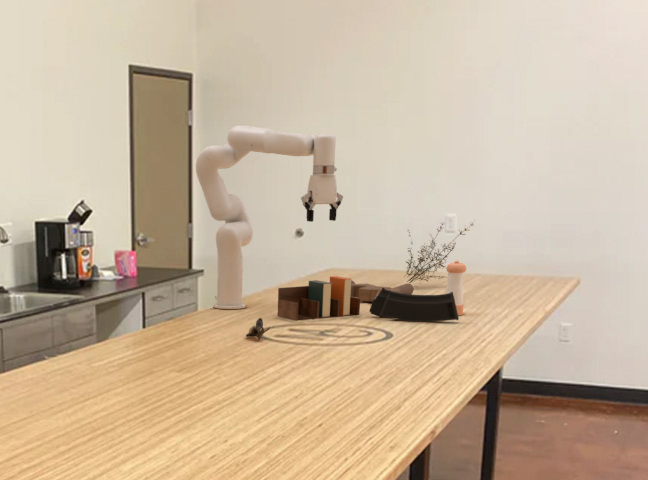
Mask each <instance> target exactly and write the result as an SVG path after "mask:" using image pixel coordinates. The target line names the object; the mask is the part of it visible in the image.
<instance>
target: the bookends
mask: <svg viewBox="0 0 648 480" xmlns="http://www.w3.org/2000/svg"><path fill="white" fill-rule="evenodd" d="M382 288H385V289H386V290H391V291H394V292H398V293H404V294H412V295H413V293H414V286H413V285H412V284H411V283H404V284H400V285H398V286H394V287H391V286H379V285H374V284H370V283H356V282H355V281H354V280H352V279H351V294H350V296H351V297H356V298H360V302H367V303H369V302H370V303H372V302H373V300H374V299H375V297H376V295H377V293H378V291H379V290H380V292H381V290H382Z"/></svg>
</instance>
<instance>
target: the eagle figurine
mask: <svg viewBox="0 0 648 480" xmlns="http://www.w3.org/2000/svg"><path fill="white" fill-rule="evenodd" d="M270 329H271V327H270V326H268V327H267V328H266V329H265V328H264V321H263V318H262V317H259V318H258V319H256V322H255V325H252V326H251V327H249V329H248V333H246V334H245V337H246V338H251V337H252V338H254V337H255V338H256V337H257V342H259V341H260V340H261V339H262V340H265V338H264V334H266V332H268V331H269V330H270Z"/></svg>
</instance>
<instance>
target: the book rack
mask: <svg viewBox="0 0 648 480" xmlns="http://www.w3.org/2000/svg"><path fill="white" fill-rule="evenodd" d="M308 289H309V285H301V286H300V285H299V286H288V287H287V286H286V287H278V289H277V291H278V292H277V317H279V318H283V319H288V320H292V321H295V322H297V321H308V320H310V321H311V320H320V319H321V320H322V319H330V318H331V319H332V318H343V317H354V316H355V317H356V316H360V310H361V309H360V306H361V301H360V298H359V297H351V296H350V313H349V315H345V316H342V315H339V311H340V300H338V299H333V298H331V299H330V317H319V301H314V300H310V299H308Z"/></svg>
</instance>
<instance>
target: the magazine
mask: <svg viewBox="0 0 648 480" xmlns="http://www.w3.org/2000/svg"><path fill="white" fill-rule="evenodd" d="M369 313H370V314H371V315H374V316H376V317H379V318H380V319H381V318H383V319H392V320H394V321H403V322H412V323H413V322H414V323H431V322H444V321H455V320H456V321H459V319H460V318H459V315H458V313H457V309H456V304H455V299H454V295H453V292H451V293H448V294H445V293H443V294H413V293H412V294H404V293H398V292H394V291H391V290H386V289H385V288H382V290H381V292H380V290H379V291H378V293H377V295H376V297H375V299H374V300H373V302H371V305H370V307H369Z"/></svg>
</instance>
